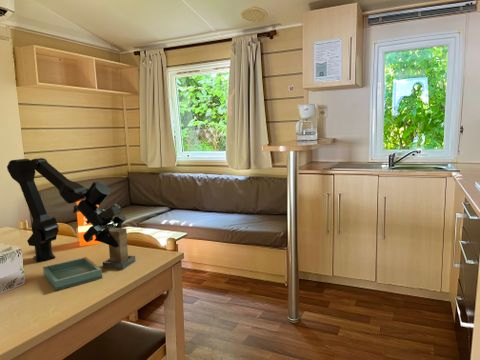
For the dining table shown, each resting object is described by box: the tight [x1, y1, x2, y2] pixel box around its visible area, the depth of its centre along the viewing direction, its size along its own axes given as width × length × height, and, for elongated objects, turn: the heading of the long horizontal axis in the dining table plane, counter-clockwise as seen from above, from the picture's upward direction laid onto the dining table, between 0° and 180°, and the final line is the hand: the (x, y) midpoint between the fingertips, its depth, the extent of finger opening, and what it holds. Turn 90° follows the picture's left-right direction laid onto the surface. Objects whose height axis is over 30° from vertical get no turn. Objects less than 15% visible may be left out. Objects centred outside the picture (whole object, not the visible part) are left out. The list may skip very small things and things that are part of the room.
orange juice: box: [76, 201, 103, 247], centre depth 153 cm, size 8×9×20 cm
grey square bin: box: [102, 254, 136, 270], centre depth 127 cm, size 8×8×2 cm
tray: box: [42, 256, 103, 292], centre depth 117 cm, size 16×14×3 cm
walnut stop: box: [108, 227, 129, 263], centre depth 127 cm, size 4×4×12 cm
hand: (121, 244), depth 126 cm, fingers closed on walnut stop, 4 cm apart
